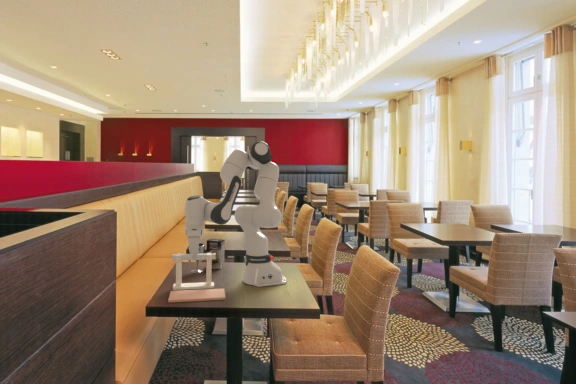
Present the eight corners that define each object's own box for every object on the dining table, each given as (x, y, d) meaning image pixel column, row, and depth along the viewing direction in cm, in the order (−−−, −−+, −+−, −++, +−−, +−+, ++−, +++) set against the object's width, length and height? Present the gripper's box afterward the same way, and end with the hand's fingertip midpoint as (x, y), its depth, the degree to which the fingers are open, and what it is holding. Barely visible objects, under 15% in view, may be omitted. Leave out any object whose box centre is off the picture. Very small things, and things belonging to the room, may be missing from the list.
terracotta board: (224, 290, 171) (224, 288, 171) (225, 299, 159) (225, 297, 159) (170, 293, 166) (170, 290, 166) (168, 302, 154) (168, 300, 154)
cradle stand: (213, 284, 180) (214, 252, 179) (214, 288, 174) (214, 255, 173) (173, 286, 176) (173, 253, 175) (172, 290, 170) (172, 256, 169)
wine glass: (206, 270, 204) (207, 243, 203) (200, 273, 196) (200, 246, 196) (194, 268, 206) (194, 242, 205) (187, 272, 198) (187, 245, 197)
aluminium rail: (215, 258, 177) (215, 253, 177) (215, 259, 175) (215, 254, 175) (172, 259, 173) (172, 254, 173) (172, 260, 170) (172, 255, 170)
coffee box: (205, 268, 208) (205, 240, 207) (209, 265, 214) (210, 238, 213) (220, 269, 206) (221, 241, 205) (224, 266, 213) (225, 239, 212)
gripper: (188, 226, 182) (188, 253, 183) (186, 233, 163) (186, 264, 163) (201, 226, 184) (201, 253, 185) (201, 233, 164) (200, 263, 165)
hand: (194, 258), depth 174 cm, fingers closed on aluminium rail, 2 cm apart
